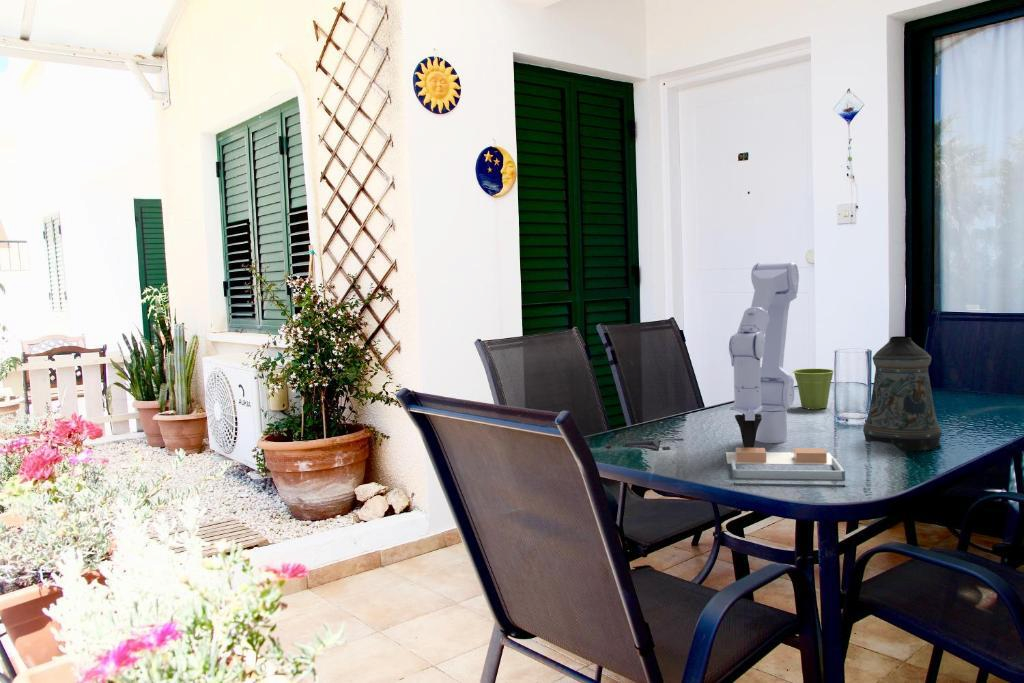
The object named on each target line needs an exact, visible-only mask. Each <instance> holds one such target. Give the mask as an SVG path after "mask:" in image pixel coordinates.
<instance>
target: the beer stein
mask: <svg viewBox="0 0 1024 683" xmlns="http://www.w3.org/2000/svg"><path fill="white" fill-rule="evenodd" d="M872 361H873V365H874V366H875V373H874V379H873V384H872V393H871V399H870V405H869V410H868V413H867V418H866V420H865V423H864V425H863V428H862V429H863V434H864V438H865V442H879V443H880V442H881V443H886V444H887V443H888V444H892V445H894V446H895V447H896V448H897V449H898V450H900V451H926V450H927V449H928V450H932V449H936V447H937V446H938V447H939V445H940V440H941V436H942V433H943V432H942V429H941V427H940V425H939V422H938V419H937V416H936V412H935V408H934V399H933V394H932V386H931V380H930V376H929V366H930V365H931V362H932V356H931V355H930V354H929V353H928V352H927V351H925V349H923V348H922V347H920V346H919V345H917V344H916V343H915V342H914V341H913V339H912V337H911V336H903V335H899V336H896V335H895V336H890V338H889V340H888V341H887V342H886V343H885V344H884V345H883V346H882V347H881V348H880V349H878V350H877V351H876V352H875V354H873V356H872ZM938 447H937V448H938ZM931 448H932V449H931Z"/></svg>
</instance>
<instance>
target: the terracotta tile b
mask: <svg viewBox="0 0 1024 683" xmlns="http://www.w3.org/2000/svg"><path fill="white" fill-rule="evenodd" d="M792 449H793V451H792V453H794V459H795V461H796V462H800V463H827V453H828V452H826V451H825V449H824V448H823V447H793V448H792Z"/></svg>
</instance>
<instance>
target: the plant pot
mask: <svg viewBox="0 0 1024 683" xmlns="http://www.w3.org/2000/svg"><path fill="white" fill-rule="evenodd" d="M834 371H835V370H834V369H831V368H830V369H829V368H814V367H813V368H799V369H795V370H792V373H793V374H794V378H795V381H796V385H797V389H798V393H799V394H798V395H799V399H800V400H799V401H800V403H801V404H800V406H801V408H802V407H803V408H802V409H807V408H809V409H808V410H821V409H824V408H825V409H827V408H828V403H829V396H830V390H831V383H832V380H833V375H834V373H835V372H834Z"/></svg>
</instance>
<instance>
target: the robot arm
mask: <svg viewBox="0 0 1024 683" xmlns="http://www.w3.org/2000/svg"><path fill="white" fill-rule="evenodd" d="M750 275H751V278H750V280H751V283H752V284H751V285H752V286H753V289H754V291H753V292H754V293H753V297H752V301H751V305H750V306H751V307H749V308H746V310H744V312H743V315H742V318H741V320H740V323H739V327H738V329H737V333H736V332H735V333H734V335H733V334H732V335H731V336H730V339H729V342H728V353H729V356H730V362H731V367H733V388H734V389H733V393H734V394H733V396H734V405H729V408H728V410H729V411H736V412H738V413H739V414H735V415H734V419H735V420H736V422H737V424H738V427H739V430H740V436H741V440H742V445H743V448H755V444H756V441H757V442H758V443H766V444H780V443H785V442H788V417H787V416H788V414H787V412H788V411H787V410H788V409H790V408H791V407H792V405H793V404H794V401H795V387H794V385H795V384H794V383H795V382H794V379H793V378H794V377H792V374H790V373H789V372H788V371H786V370H785V369H784V358H785V348H786V340H787V329H788V328H787V327H788V318H789V311H790V305H791V302H793V301H794V300H795V299H797V297H798V296H797V294H798V290H799V281H800V274H799V268H798V265H797V264H796V263H795V262H794V261H789V262H771V263H770V262H767V263H760V262H756V263H755V264H754V265H753V266H752V268H751V274H750ZM761 359H762V360H761Z"/></svg>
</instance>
